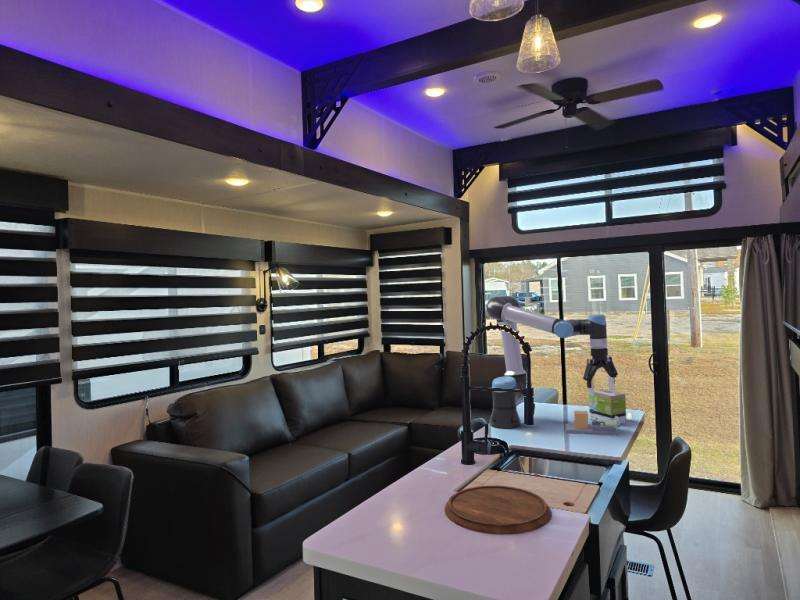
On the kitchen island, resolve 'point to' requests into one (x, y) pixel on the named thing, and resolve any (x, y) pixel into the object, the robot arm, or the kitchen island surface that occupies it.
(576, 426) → the jaw block
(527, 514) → the cutting board
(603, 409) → the tea box
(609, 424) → the cover
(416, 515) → the kitchen island surface
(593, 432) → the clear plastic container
